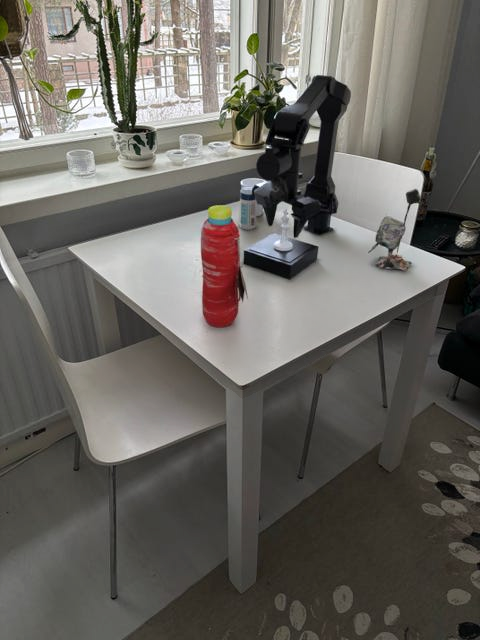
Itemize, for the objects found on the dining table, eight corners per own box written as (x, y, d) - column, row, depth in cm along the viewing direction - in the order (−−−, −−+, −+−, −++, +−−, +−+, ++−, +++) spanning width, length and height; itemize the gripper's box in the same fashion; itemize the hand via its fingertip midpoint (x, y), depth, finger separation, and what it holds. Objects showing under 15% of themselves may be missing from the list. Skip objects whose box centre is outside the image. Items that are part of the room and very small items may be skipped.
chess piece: (279, 252, 123) (282, 214, 117) (270, 244, 126) (272, 207, 121) (296, 248, 125) (299, 211, 119) (286, 241, 128) (289, 204, 123)
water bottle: (259, 325, 102) (265, 211, 89) (235, 342, 97) (237, 223, 84) (216, 305, 109) (216, 196, 95) (191, 320, 103) (187, 207, 90)
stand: (272, 246, 136) (273, 232, 133) (317, 260, 129) (318, 245, 127) (243, 264, 126) (243, 249, 124) (289, 280, 119) (291, 264, 117)
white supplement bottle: (256, 224, 148) (257, 185, 142) (254, 230, 144) (256, 191, 138) (240, 223, 149) (241, 185, 142) (238, 230, 145) (239, 190, 138)
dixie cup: (234, 213, 156) (235, 182, 151) (251, 206, 161) (252, 176, 156) (255, 220, 152) (256, 188, 146) (271, 212, 157) (273, 182, 152)
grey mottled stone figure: (376, 252, 133) (390, 180, 122) (415, 265, 127) (434, 190, 116) (362, 262, 128) (375, 187, 117) (402, 276, 122) (420, 198, 111)
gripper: (235, 165, 116) (234, 227, 124) (290, 185, 104) (285, 252, 112) (270, 158, 122) (267, 217, 130) (325, 176, 110) (318, 240, 118)
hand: (282, 231), depth 123 cm, fingers open, 9 cm apart
